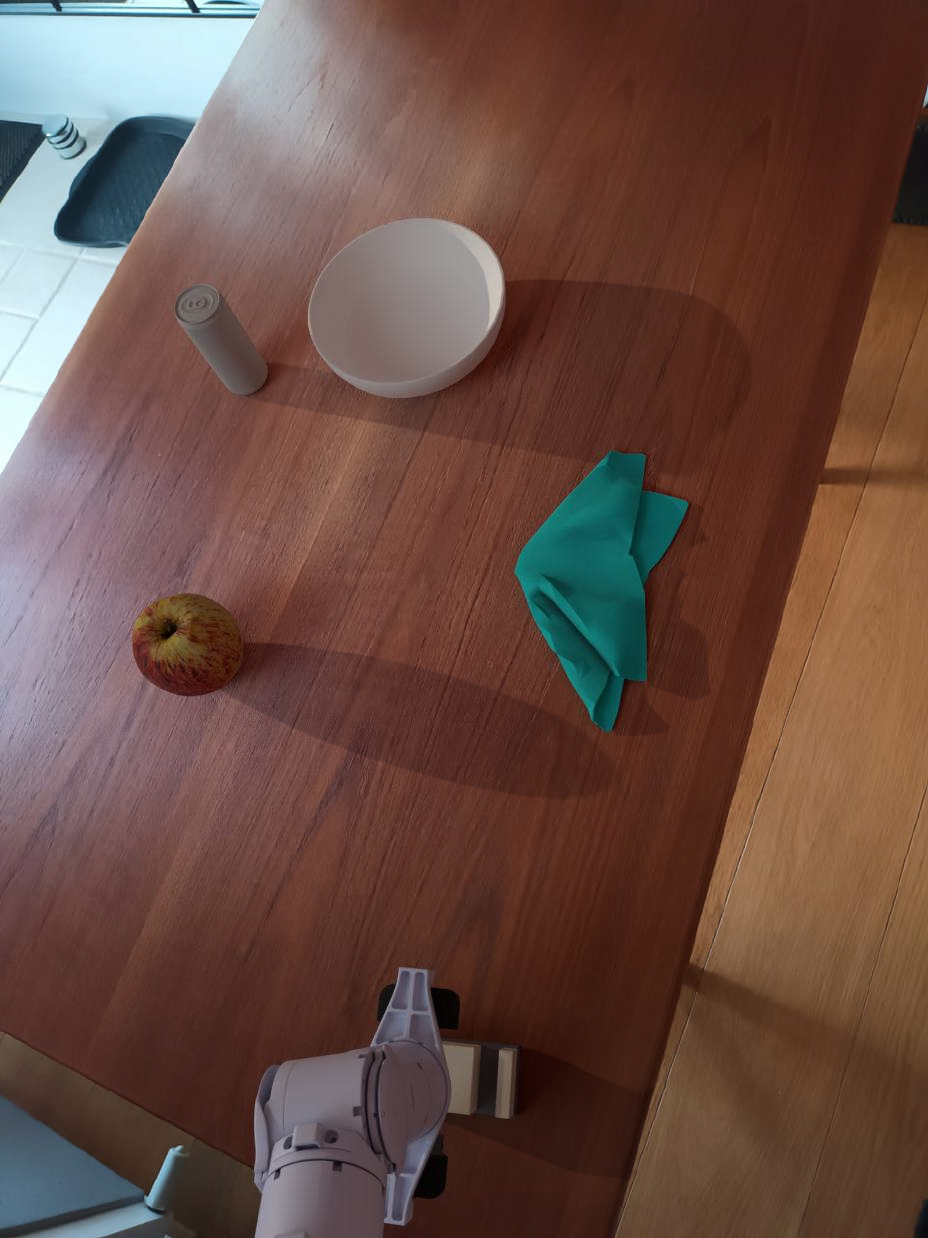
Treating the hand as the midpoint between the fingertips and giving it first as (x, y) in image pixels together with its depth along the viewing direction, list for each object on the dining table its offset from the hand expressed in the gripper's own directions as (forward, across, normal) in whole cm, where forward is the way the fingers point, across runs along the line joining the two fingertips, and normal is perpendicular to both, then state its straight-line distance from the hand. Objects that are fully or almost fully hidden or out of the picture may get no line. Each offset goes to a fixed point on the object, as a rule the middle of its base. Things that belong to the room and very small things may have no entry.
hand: (433, 1078), depth 68 cm
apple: (+4, -32, -25) cm, 41 cm away
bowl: (+4, -67, -9) cm, 68 cm away
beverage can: (+4, -63, -27) cm, 69 cm away
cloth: (+4, -41, +9) cm, 42 cm away
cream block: (+4, 0, 0) cm, 4 cm away
